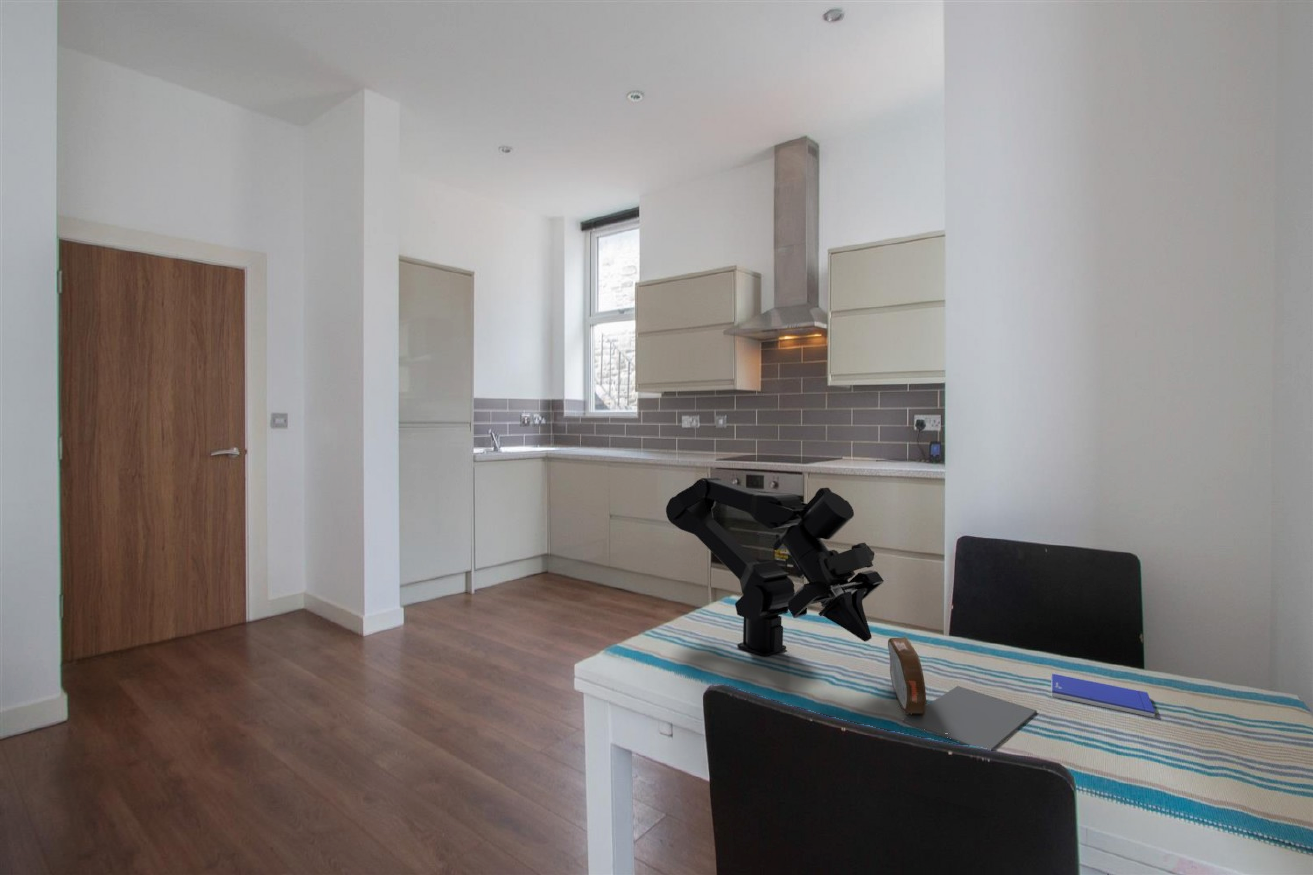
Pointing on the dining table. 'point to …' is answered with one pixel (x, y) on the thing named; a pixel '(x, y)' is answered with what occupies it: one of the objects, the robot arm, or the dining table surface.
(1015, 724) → the mat
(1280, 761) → the dining table surface
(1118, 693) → the hard drive
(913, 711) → the tin
